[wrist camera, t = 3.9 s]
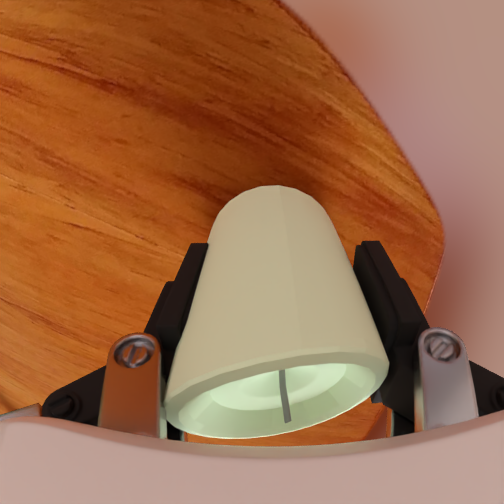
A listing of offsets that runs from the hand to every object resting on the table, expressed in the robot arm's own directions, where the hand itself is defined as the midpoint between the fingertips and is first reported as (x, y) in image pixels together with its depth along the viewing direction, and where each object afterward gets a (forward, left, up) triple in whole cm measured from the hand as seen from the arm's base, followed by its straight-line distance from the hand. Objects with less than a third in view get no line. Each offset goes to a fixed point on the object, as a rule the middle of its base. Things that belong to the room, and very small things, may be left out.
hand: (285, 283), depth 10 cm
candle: (0, 0, -3) cm, 3 cm away
